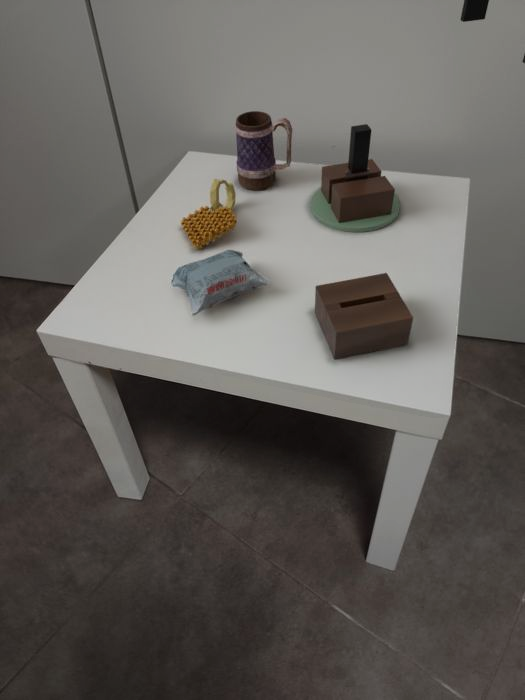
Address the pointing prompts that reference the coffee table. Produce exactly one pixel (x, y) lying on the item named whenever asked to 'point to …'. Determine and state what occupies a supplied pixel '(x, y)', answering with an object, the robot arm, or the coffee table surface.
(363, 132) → the knife
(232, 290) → the packaged food
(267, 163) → the mug
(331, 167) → the green disc stand
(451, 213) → the coffee table surface
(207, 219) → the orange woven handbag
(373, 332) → the knife block
